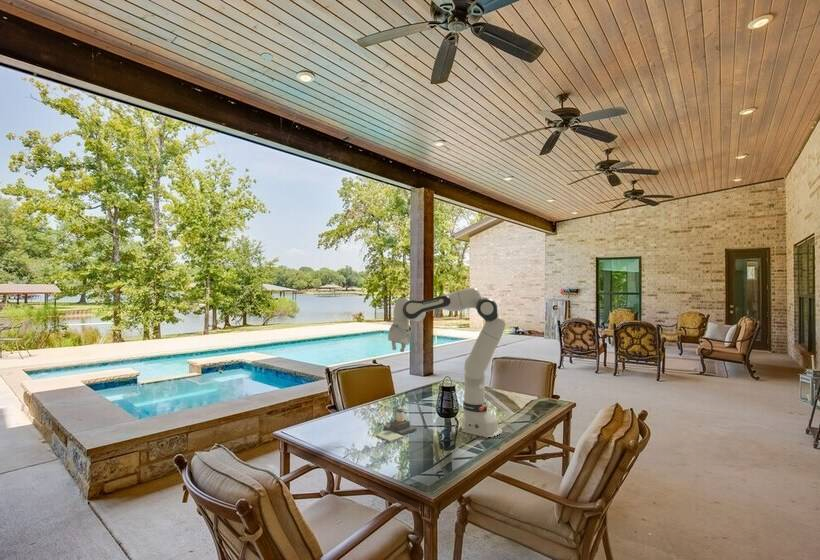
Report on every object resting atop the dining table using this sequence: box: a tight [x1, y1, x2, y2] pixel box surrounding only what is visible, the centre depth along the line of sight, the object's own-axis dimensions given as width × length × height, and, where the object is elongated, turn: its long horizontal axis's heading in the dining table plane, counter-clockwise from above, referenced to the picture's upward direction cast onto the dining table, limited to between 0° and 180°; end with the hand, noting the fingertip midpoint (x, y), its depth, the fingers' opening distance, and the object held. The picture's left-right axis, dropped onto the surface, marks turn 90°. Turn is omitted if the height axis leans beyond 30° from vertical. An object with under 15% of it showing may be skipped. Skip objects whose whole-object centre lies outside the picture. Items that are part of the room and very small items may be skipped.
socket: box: [383, 418, 417, 436], centre depth 214 cm, size 14×11×4 cm
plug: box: [395, 408, 405, 423], centre depth 214 cm, size 4×4×9 cm
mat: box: [375, 430, 405, 443], centre depth 203 cm, size 11×9×1 cm
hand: (398, 351), depth 223 cm, fingers open, 8 cm apart
